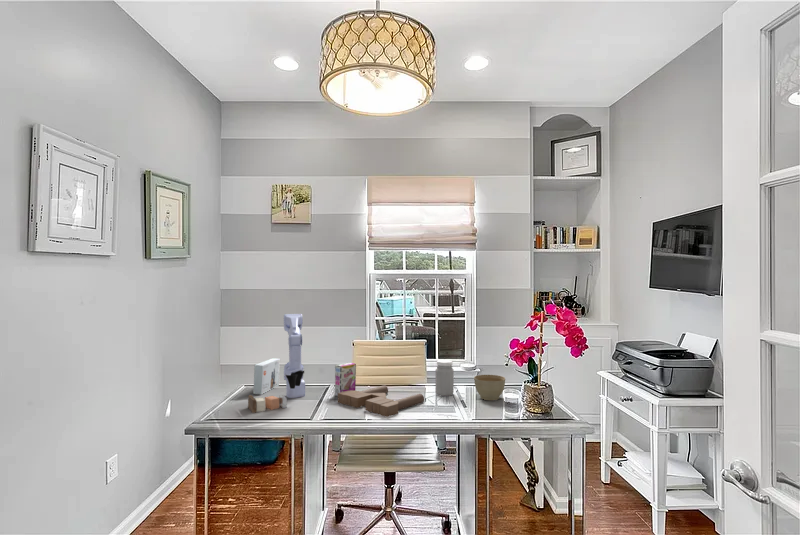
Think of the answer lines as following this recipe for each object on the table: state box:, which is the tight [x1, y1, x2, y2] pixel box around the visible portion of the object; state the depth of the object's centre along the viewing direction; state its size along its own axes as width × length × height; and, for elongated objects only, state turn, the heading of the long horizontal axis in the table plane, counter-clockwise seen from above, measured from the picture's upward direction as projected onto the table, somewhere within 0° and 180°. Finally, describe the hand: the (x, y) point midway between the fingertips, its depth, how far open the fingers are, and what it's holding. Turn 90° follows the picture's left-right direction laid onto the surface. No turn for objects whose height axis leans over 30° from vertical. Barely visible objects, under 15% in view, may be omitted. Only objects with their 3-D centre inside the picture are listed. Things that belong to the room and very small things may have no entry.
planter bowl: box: [473, 374, 506, 401], centre depth 244 cm, size 16×16×11 cm
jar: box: [434, 359, 455, 397], centre depth 251 cm, size 10×10×18 cm
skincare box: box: [252, 357, 281, 396], centre depth 260 cm, size 21×6×16 cm, turn 168°
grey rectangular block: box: [278, 394, 288, 409], centre depth 225 cm, size 2×6×4 cm, turn 30°
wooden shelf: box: [247, 394, 257, 414], centre depth 223 cm, size 18×10×7 cm, turn 120°
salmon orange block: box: [264, 395, 280, 411], centre depth 223 cm, size 4×6×5 cm, turn 47°
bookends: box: [337, 384, 425, 418], centre depth 234 cm, size 35×6×29 cm
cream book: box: [254, 397, 266, 413], centre depth 220 cm, size 4×6×5 cm, turn 30°
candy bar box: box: [334, 362, 357, 398], centre depth 250 cm, size 11×5×16 cm, turn 139°
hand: (295, 387), depth 228 cm, fingers open, 5 cm apart
